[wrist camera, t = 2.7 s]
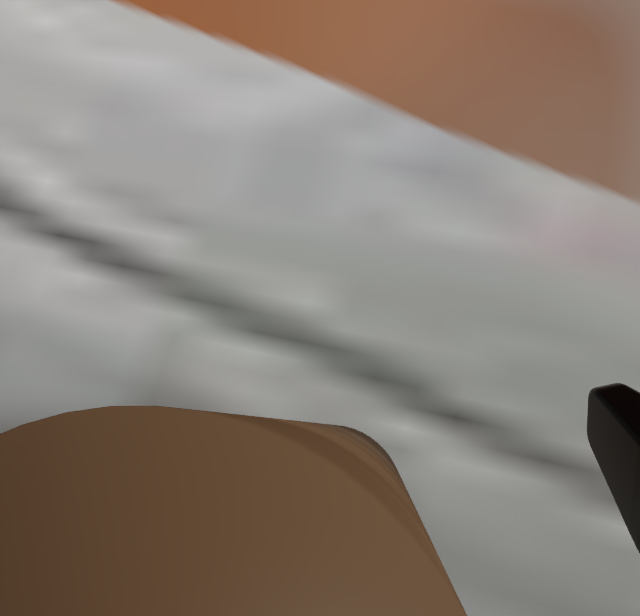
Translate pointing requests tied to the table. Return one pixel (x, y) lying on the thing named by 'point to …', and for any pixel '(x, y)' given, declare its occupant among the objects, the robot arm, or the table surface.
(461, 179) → the table surface
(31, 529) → the walnut pin
